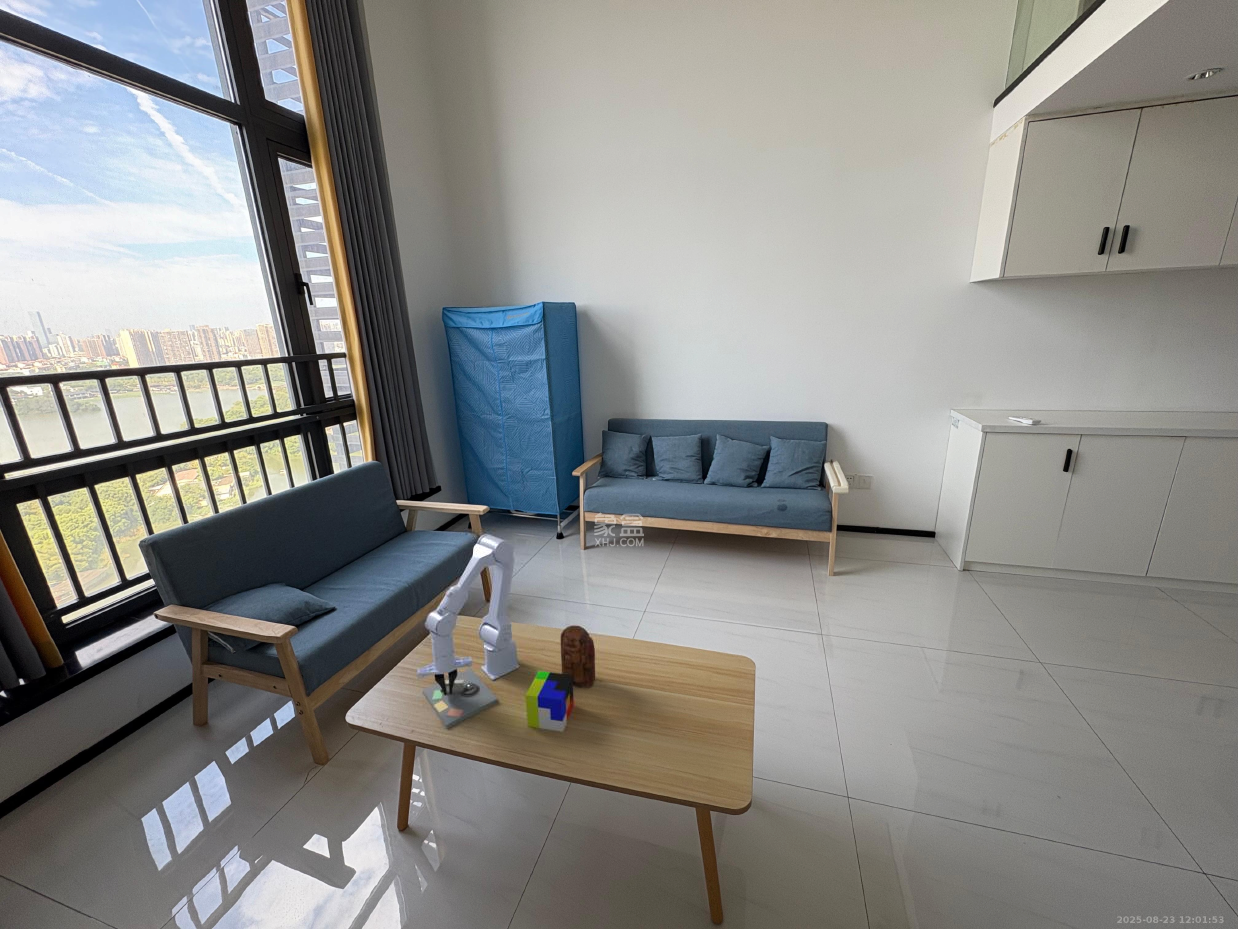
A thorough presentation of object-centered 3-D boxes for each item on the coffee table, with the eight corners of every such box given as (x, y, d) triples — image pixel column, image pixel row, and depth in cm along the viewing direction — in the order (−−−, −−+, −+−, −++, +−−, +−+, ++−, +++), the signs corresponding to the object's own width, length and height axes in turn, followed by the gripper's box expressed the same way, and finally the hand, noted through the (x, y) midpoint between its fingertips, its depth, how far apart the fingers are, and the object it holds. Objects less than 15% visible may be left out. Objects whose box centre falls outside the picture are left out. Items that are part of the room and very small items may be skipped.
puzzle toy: (563, 732, 130) (561, 700, 128) (527, 726, 132) (525, 695, 130) (573, 705, 140) (572, 675, 138) (540, 700, 142) (538, 670, 140)
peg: (478, 685, 147) (477, 676, 146) (475, 694, 143) (474, 685, 142) (442, 687, 146) (441, 677, 145) (438, 696, 142) (437, 687, 141)
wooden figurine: (555, 683, 149) (553, 631, 145) (564, 670, 155) (561, 619, 150) (592, 691, 145) (590, 637, 141) (599, 677, 151) (598, 625, 147)
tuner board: (471, 671, 155) (470, 668, 154) (497, 702, 141) (497, 698, 141) (423, 693, 145) (422, 689, 145) (446, 728, 132) (446, 724, 132)
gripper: (468, 637, 144) (472, 677, 148) (415, 649, 139) (421, 690, 142) (471, 651, 138) (475, 692, 141) (415, 664, 133) (421, 706, 136)
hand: (448, 692), depth 141 cm, fingers closed
